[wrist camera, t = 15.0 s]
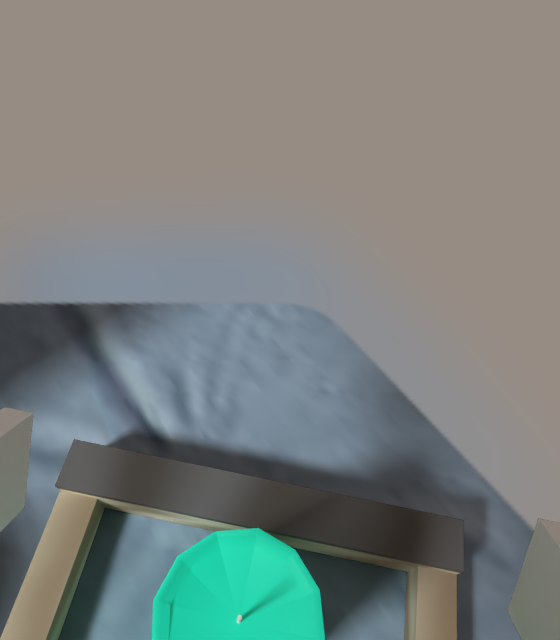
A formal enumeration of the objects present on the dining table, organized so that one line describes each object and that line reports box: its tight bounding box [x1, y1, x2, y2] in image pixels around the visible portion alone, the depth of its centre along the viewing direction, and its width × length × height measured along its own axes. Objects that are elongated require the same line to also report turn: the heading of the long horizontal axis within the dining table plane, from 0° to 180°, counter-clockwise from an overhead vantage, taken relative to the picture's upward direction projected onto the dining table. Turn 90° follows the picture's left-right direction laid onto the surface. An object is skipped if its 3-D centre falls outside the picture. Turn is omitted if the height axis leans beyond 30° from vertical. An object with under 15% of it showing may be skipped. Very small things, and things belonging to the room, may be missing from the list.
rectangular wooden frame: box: [0, 439, 464, 640], centre depth 25 cm, size 21×14×3 cm, turn 80°
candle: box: [152, 528, 325, 640], centre depth 22 cm, size 6×6×12 cm
